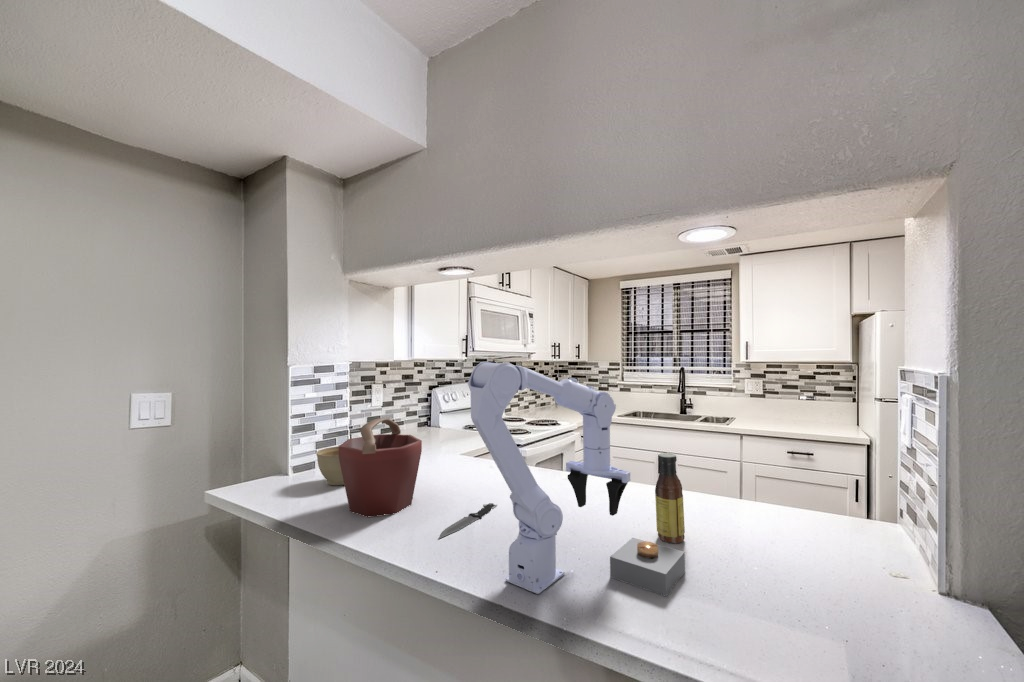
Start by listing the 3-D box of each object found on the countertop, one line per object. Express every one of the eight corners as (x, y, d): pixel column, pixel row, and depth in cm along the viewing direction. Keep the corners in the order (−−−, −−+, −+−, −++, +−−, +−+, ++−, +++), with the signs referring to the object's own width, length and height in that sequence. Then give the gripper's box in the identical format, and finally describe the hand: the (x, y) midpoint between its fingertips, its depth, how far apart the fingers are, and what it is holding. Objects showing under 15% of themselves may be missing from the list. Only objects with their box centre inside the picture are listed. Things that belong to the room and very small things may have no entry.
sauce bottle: (675, 532, 107) (674, 450, 107) (690, 543, 101) (689, 457, 101) (650, 534, 106) (649, 452, 106) (664, 545, 99) (662, 458, 100)
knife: (427, 538, 105) (443, 542, 103) (427, 534, 105) (443, 538, 103) (487, 504, 128) (501, 507, 125) (487, 501, 128) (501, 504, 125)
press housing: (666, 596, 79) (665, 574, 79) (610, 577, 86) (610, 556, 86) (685, 571, 88) (684, 551, 88) (632, 556, 95) (632, 537, 95)
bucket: (384, 527, 111) (384, 428, 112) (316, 516, 119) (316, 424, 119) (434, 496, 134) (433, 415, 135) (374, 489, 142) (374, 411, 142)
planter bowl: (375, 481, 150) (375, 449, 150) (329, 492, 138) (329, 458, 139) (353, 472, 161) (353, 442, 161) (308, 482, 150) (308, 450, 150)
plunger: (654, 581, 84) (653, 552, 84) (634, 574, 87) (634, 546, 87) (661, 572, 87) (661, 545, 87) (642, 566, 90) (641, 539, 90)
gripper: (636, 447, 93) (637, 512, 93) (577, 439, 102) (578, 497, 102) (621, 454, 87) (622, 522, 87) (560, 444, 97) (561, 506, 96)
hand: (597, 509), depth 94 cm, fingers open, 7 cm apart
